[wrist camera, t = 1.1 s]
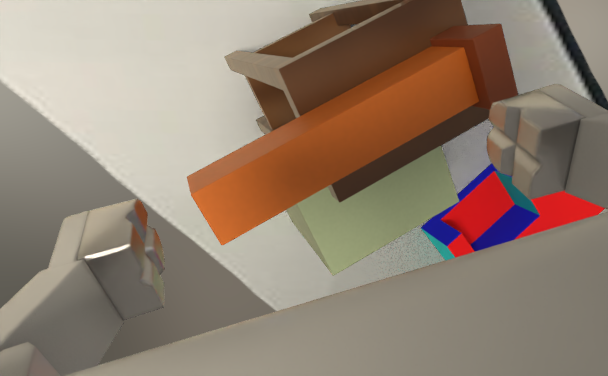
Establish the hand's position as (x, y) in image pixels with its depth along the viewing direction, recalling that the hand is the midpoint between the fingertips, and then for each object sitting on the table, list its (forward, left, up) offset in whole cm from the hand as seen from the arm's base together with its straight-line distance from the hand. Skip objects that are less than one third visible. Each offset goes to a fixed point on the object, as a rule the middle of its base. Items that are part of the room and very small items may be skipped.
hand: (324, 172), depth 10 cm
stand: (+5, +10, -44) cm, 46 cm away
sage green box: (+18, +10, -44) cm, 49 cm away
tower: (+5, +6, -18) cm, 20 cm away
